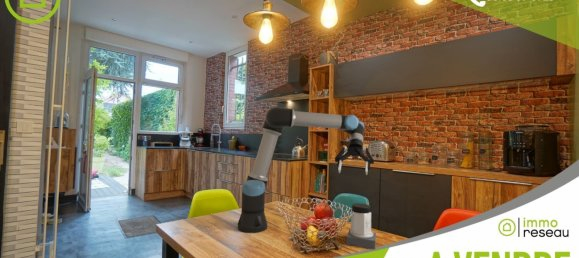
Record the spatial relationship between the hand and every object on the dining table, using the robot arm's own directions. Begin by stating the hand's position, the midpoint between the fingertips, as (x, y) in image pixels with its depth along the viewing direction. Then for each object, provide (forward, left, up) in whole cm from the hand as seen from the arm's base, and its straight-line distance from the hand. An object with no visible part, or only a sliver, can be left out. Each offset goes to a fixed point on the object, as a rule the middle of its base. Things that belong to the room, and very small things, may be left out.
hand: (352, 172), depth 138 cm
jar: (+6, -14, -25) cm, 29 cm away
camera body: (+6, -14, -30) cm, 33 cm away
